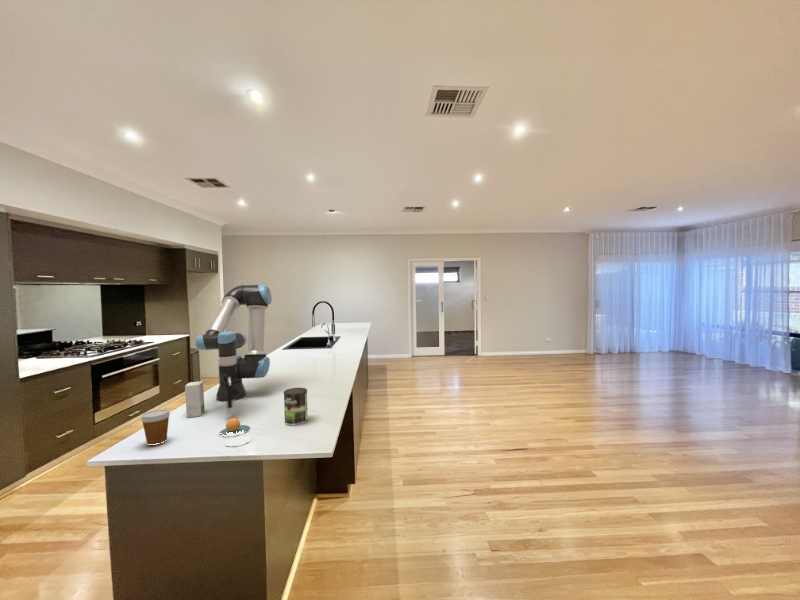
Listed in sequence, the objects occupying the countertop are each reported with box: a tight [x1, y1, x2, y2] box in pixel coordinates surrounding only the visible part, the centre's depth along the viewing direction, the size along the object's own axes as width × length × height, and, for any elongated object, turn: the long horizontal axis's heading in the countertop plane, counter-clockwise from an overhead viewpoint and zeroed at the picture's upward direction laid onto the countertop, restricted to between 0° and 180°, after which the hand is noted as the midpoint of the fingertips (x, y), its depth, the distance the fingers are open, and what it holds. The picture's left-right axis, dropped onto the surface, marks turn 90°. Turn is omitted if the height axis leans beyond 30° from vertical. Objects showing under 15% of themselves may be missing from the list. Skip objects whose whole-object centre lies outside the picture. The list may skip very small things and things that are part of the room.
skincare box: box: [184, 380, 206, 419], centre depth 167 cm, size 8×7×16 cm
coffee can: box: [283, 387, 309, 426], centre depth 155 cm, size 10×10×14 cm
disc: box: [218, 424, 251, 438], centre depth 146 cm, size 12×12×1 cm
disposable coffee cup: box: [140, 409, 171, 444], centre depth 136 cm, size 10×10×12 cm
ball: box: [225, 417, 241, 432], centre depth 146 cm, size 6×6×6 cm
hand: (229, 413), depth 162 cm, fingers closed
